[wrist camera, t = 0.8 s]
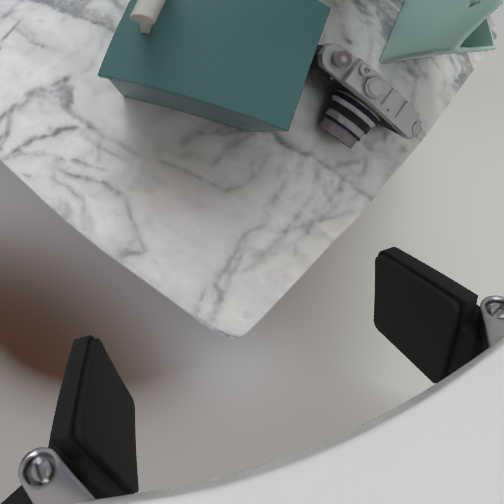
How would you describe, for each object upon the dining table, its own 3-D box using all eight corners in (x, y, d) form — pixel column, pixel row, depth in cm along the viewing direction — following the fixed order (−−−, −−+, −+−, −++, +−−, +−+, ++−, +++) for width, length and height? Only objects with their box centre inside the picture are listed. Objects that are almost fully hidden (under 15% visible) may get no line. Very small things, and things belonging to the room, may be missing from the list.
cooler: (123, 96, 30) (108, 78, 20) (164, -1, 27) (170, -48, 17) (248, 132, 35) (284, 131, 25) (282, 38, 32) (326, 10, 22)
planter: (414, 93, 39) (527, 95, 21) (378, 61, 36) (495, 43, 18) (439, 23, 36) (534, 10, 18) (407, -8, 33) (504, -35, 15)
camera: (270, 93, 35) (290, 104, 27) (308, 39, 32) (340, 35, 24) (361, 158, 42) (397, 186, 34) (396, 111, 38) (439, 130, 30)
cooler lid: (99, 76, 20) (85, 62, 15) (161, -50, 16) (164, -81, 12) (284, 131, 25) (312, 131, 21) (326, 10, 22) (357, -8, 17)
